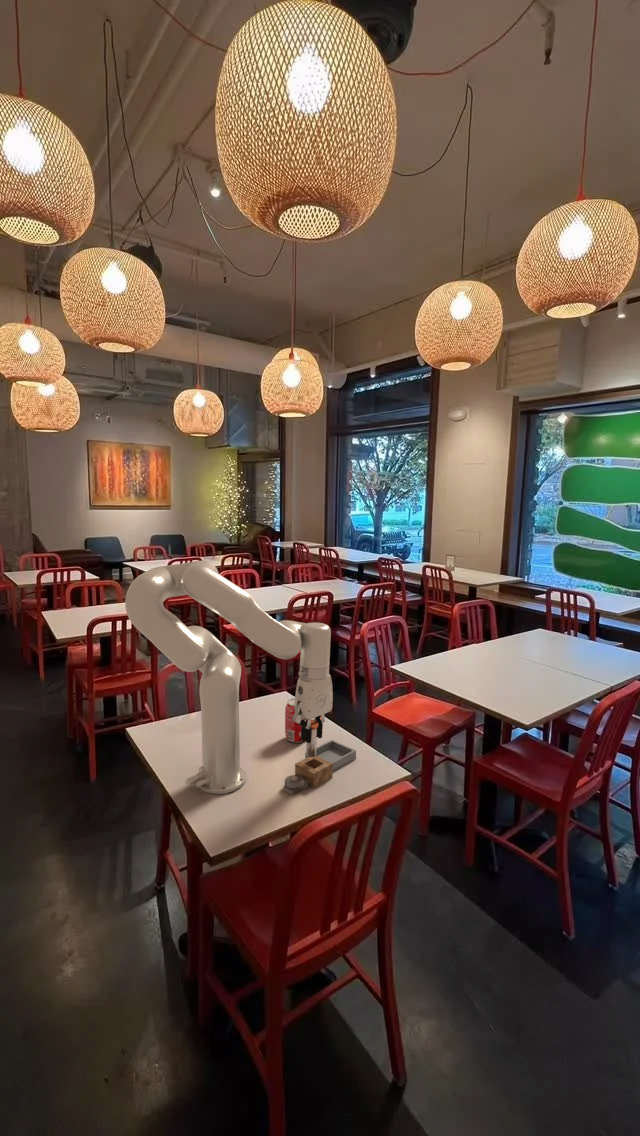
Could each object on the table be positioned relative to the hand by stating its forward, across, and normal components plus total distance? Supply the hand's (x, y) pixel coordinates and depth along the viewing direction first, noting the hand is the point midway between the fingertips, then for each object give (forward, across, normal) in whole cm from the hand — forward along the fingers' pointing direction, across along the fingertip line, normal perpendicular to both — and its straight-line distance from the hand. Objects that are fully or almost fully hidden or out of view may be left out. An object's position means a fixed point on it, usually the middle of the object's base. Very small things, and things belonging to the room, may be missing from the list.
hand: (311, 738), depth 133 cm
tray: (+11, +11, +2) cm, 16 cm away
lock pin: (+5, 0, 0) cm, 5 cm away
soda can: (+11, +13, +18) cm, 25 cm away
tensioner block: (+11, -2, -1) cm, 11 cm away
